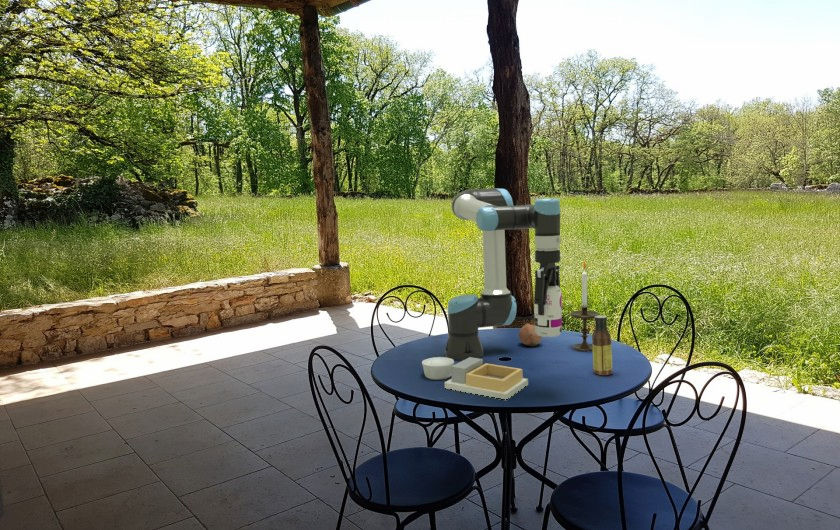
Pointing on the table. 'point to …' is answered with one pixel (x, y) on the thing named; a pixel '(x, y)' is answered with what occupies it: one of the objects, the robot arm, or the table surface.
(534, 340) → the onion
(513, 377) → the tan-rimmed shallow tray
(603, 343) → the sauce bottle
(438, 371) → the ramekin
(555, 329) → the supplement can
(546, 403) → the table surface
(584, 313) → the candlestick
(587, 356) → the table surface
